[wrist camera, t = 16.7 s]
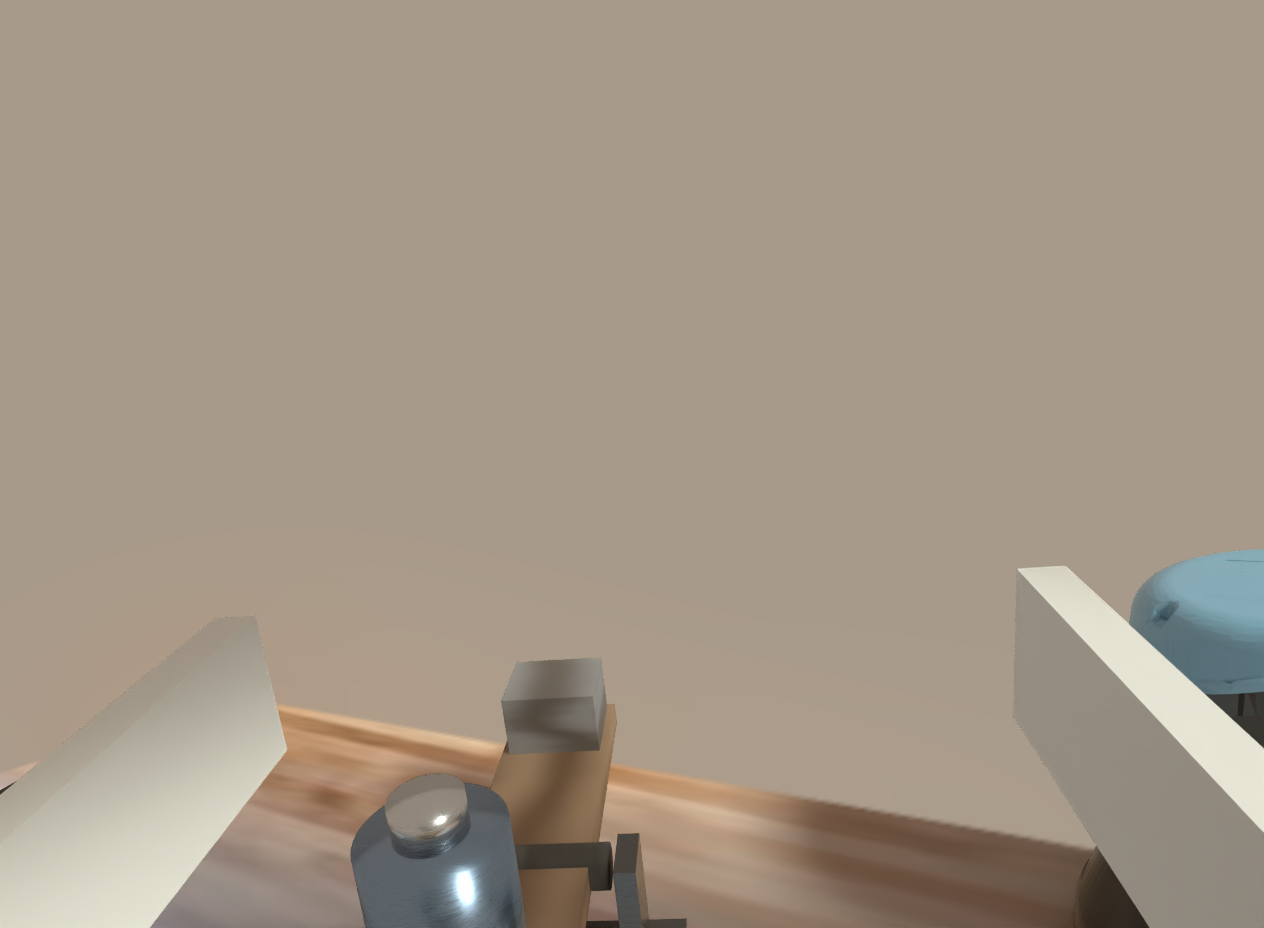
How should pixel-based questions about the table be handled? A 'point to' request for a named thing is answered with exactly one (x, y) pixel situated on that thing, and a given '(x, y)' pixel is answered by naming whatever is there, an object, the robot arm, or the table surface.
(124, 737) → the robot arm
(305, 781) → the table surface
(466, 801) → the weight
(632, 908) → the stand
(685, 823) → the table surface
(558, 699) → the beam
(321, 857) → the table surface
